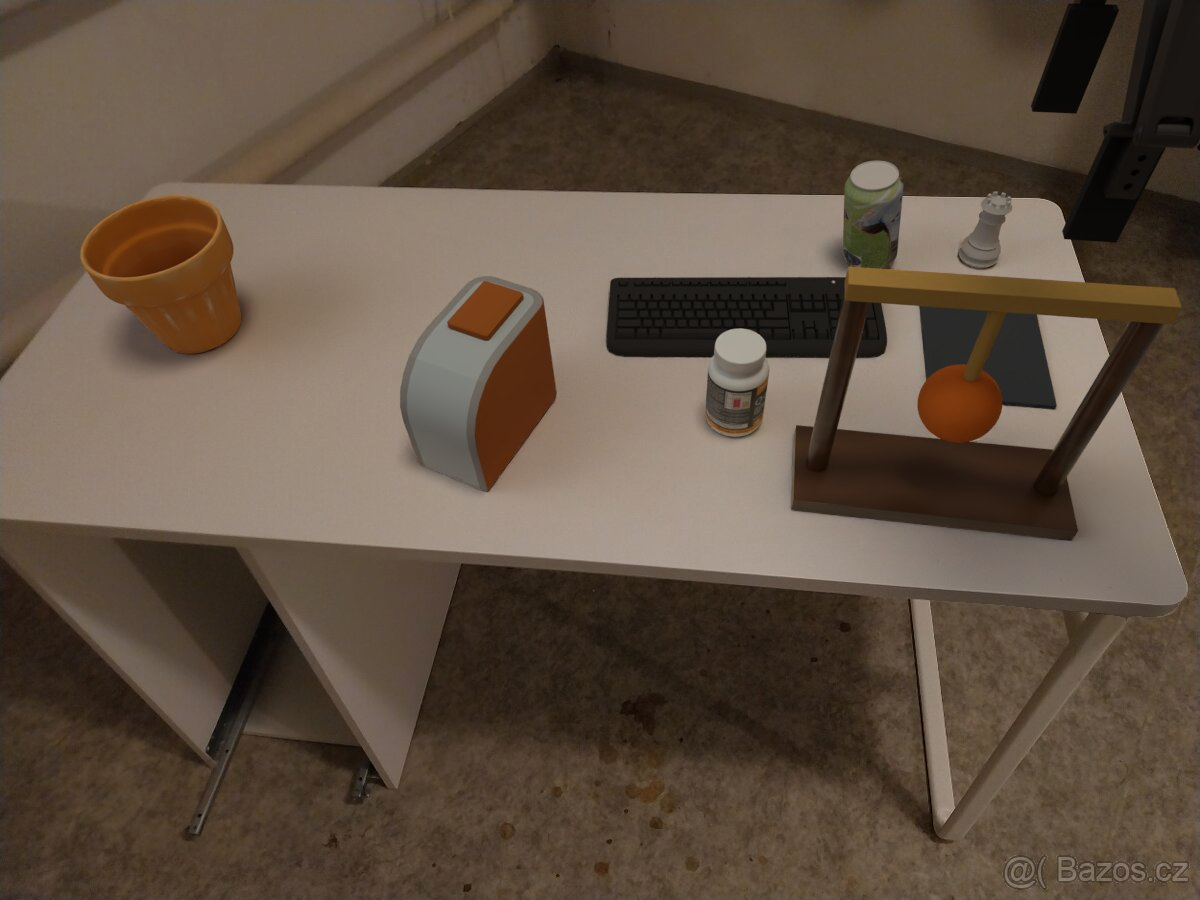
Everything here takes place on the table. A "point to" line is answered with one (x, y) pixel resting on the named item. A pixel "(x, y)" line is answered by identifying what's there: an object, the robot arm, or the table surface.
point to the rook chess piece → (986, 233)
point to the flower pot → (168, 269)
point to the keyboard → (732, 315)
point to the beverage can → (872, 215)
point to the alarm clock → (478, 381)
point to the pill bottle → (737, 383)
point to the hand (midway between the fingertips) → (1069, 168)
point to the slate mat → (991, 352)
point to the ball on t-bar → (996, 329)
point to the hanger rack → (948, 456)
